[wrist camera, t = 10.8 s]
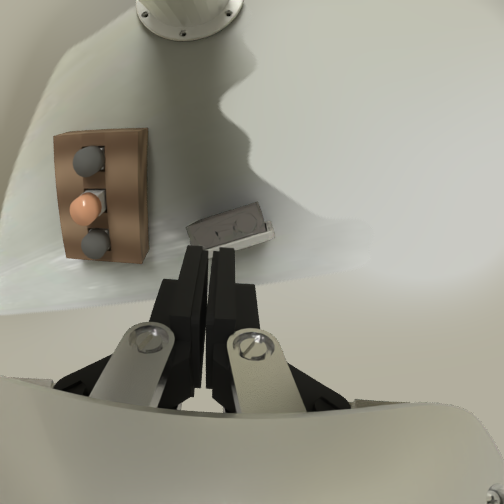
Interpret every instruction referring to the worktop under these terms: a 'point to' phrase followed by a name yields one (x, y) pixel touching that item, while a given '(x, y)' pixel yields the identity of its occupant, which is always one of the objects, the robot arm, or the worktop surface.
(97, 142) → the wooden socket board
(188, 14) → the robot arm
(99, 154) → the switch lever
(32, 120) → the worktop surface
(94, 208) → the plug middle
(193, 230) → the electrical switch
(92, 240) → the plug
